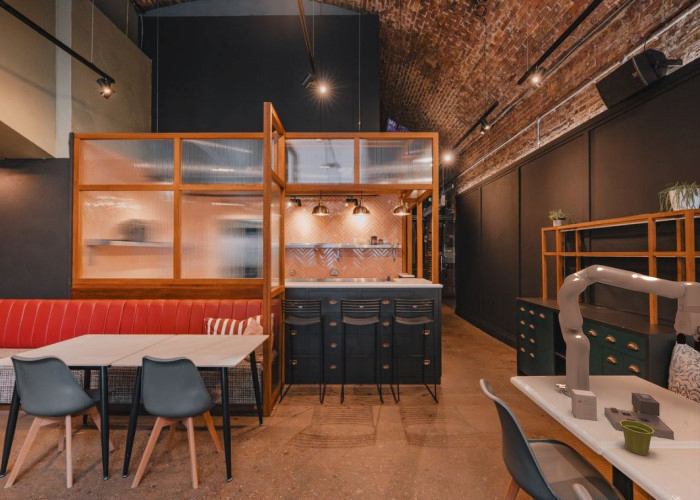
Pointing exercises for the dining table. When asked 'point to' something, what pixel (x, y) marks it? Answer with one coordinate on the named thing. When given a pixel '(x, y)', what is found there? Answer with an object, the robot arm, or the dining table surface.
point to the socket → (647, 419)
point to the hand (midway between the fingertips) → (689, 347)
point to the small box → (584, 404)
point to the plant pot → (637, 436)
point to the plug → (645, 404)
